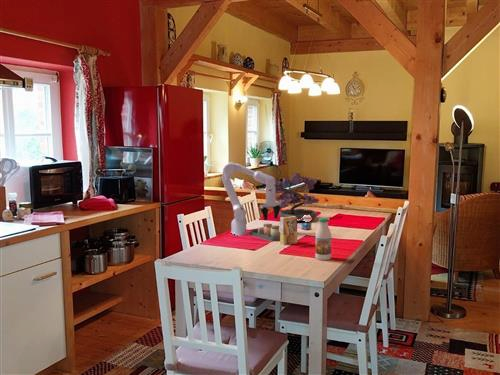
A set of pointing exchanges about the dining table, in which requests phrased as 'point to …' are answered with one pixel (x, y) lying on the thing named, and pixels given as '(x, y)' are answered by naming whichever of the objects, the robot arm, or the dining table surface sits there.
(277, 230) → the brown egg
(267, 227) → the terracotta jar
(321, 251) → the milk bottle
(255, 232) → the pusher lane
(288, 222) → the candy box
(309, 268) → the dining table surface
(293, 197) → the bonsai tree
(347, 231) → the dining table surface
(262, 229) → the plate
